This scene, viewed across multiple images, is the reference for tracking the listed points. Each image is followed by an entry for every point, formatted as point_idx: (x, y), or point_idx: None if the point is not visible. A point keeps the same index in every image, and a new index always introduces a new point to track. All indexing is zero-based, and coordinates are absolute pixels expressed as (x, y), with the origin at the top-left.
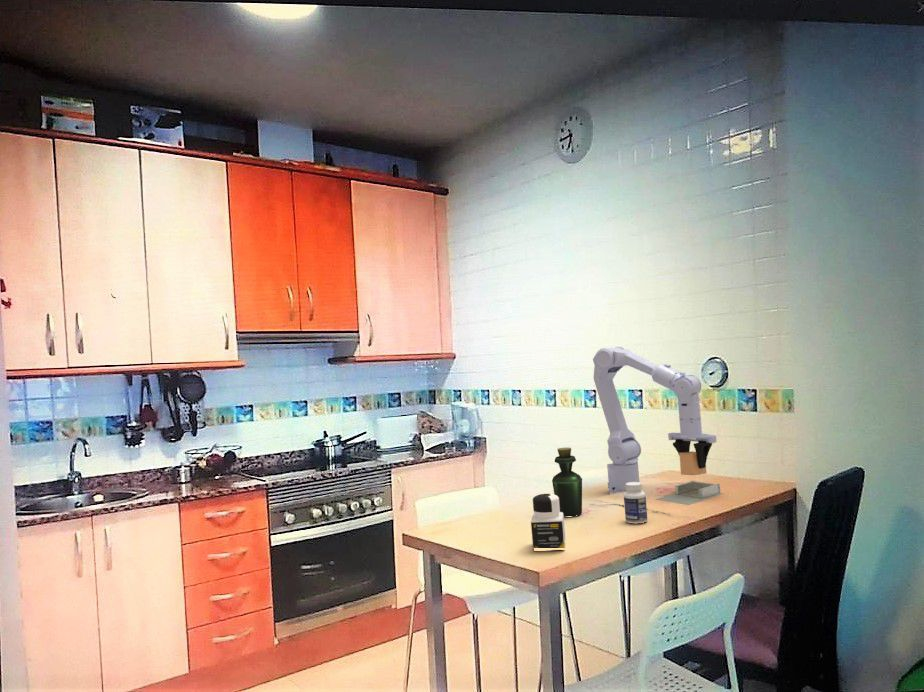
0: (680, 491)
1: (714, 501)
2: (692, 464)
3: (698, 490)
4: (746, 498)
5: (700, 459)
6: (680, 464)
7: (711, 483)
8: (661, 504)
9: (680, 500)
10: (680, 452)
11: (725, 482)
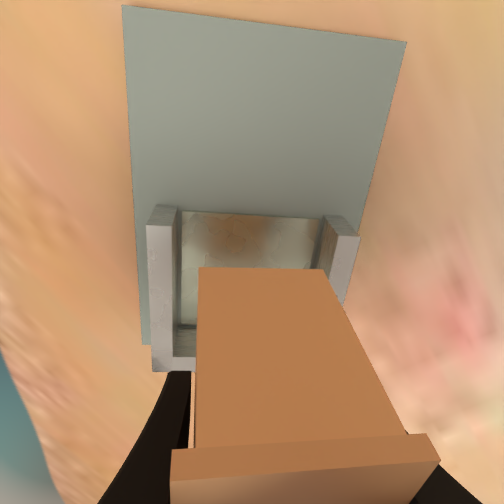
0: (323, 241)
1: None
2: (198, 342)
3: None
4: (64, 359)
5: (137, 444)
6: (351, 331)
7: None
8: None
9: (241, 97)
10: (430, 497)
11: None
